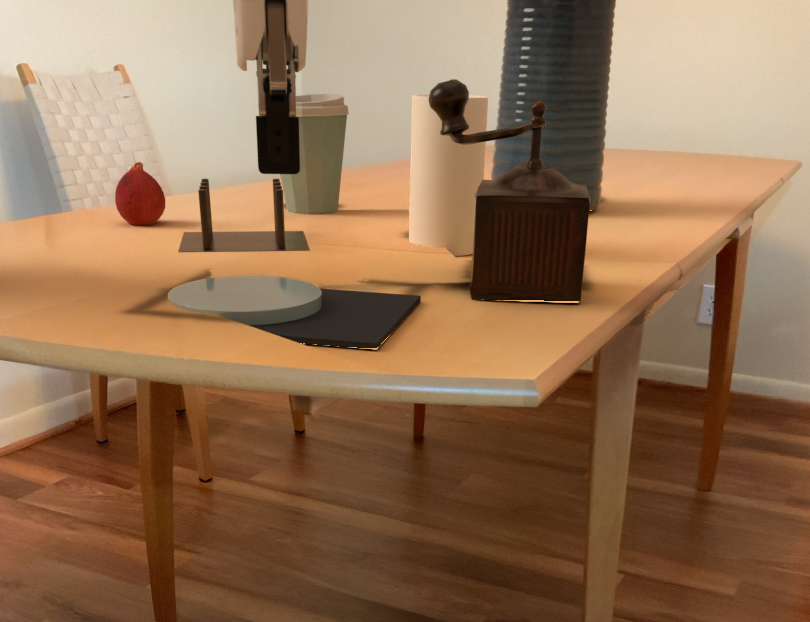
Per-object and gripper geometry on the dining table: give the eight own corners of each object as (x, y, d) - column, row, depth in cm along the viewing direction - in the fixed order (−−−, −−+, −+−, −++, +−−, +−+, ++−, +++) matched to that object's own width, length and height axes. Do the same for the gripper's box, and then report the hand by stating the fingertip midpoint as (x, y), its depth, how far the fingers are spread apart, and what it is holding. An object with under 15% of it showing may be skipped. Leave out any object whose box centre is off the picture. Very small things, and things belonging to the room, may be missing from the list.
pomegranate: (133, 237, 109) (124, 165, 105) (110, 230, 112) (101, 160, 109) (176, 232, 112) (170, 162, 108) (153, 226, 116) (146, 158, 112)
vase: (622, 209, 135) (653, -43, 120) (551, 220, 125) (575, -53, 111) (537, 196, 146) (556, -37, 131) (465, 205, 136) (477, -46, 121)
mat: (136, 330, 74) (135, 323, 73) (216, 287, 87) (215, 280, 87) (377, 351, 70) (377, 343, 69) (420, 302, 84) (420, 295, 83)
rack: (310, 259, 99) (308, 191, 96) (178, 261, 97) (171, 191, 94) (303, 239, 110) (301, 177, 106) (184, 240, 108) (178, 177, 104)
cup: (453, 259, 101) (460, 98, 93) (394, 249, 105) (396, 95, 98) (493, 248, 107) (502, 96, 99) (435, 240, 111) (440, 93, 103)
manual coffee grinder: (577, 279, 93) (597, 81, 85) (582, 305, 83) (606, 85, 75) (425, 272, 95) (430, 78, 86) (413, 298, 85) (418, 81, 76)
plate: (351, 296, 77) (271, 269, 86) (214, 319, 70) (141, 287, 79) (351, 310, 78) (271, 282, 87) (215, 335, 71) (143, 301, 80)
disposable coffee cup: (318, 226, 118) (315, 97, 110) (254, 218, 123) (247, 94, 115) (365, 216, 125) (365, 95, 118) (303, 208, 130) (299, 92, 123)
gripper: (216, -100, 69) (231, 161, 78) (211, -133, 56) (229, 185, 65) (315, -95, 70) (319, 162, 79) (333, -126, 57) (335, 186, 66)
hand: (279, 172), depth 72 cm, fingers closed
